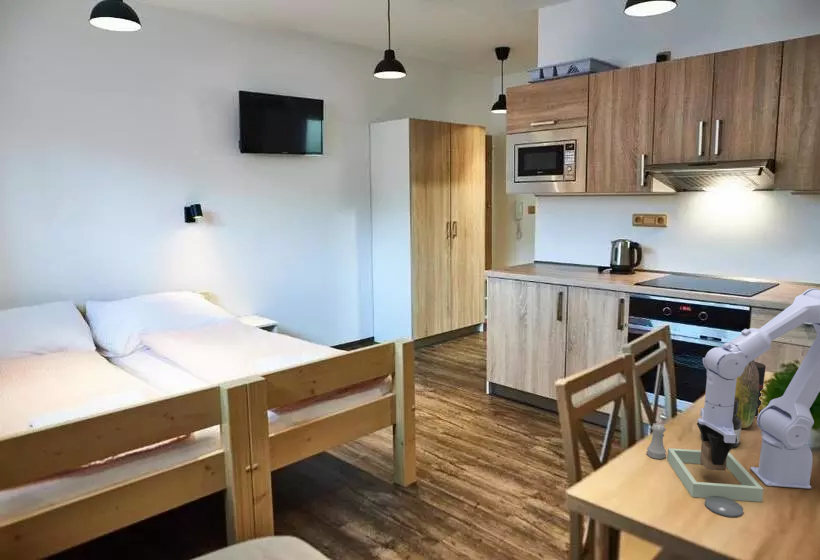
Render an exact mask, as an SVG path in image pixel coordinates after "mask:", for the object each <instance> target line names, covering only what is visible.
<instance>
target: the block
mask: <svg viewBox="0 0 820 560" xmlns="http://www.w3.org/2000/svg"><path fill="white" fill-rule="evenodd" d="M700 450H701V456H700V462H701V463H702V464H701V465H702V466H703V467H704V468H705V470H706V471H707V470H708V471H722V472H726V471H727V467H726V462H727V457H726V460H725V462H724V464H723V465H714V464H713V463H712V458H711V445H710V441H702V440H701V447H700Z"/></svg>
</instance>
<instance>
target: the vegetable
mask: <svg viewBox="0 0 820 560" xmlns="http://www.w3.org/2000/svg"><path fill="white" fill-rule="evenodd" d="M755 362H756V361H755V359H754V360H752V361H751V362H749V363H748V365H747V366H746V367H745V369H744V371H743V373H742V375H741V376H739V377H737V380H736V390H735V397H737V398H738V399H739V406H738V413H737V414H736V415H737V416H738V417H739V418H740V420H741V429H746V428H749V427H751V425H752V424H753V422H754V420H755V418H756V417H755V413H756V407H757V401H758V395H759V372H758V369H757V367H756V365H755Z"/></svg>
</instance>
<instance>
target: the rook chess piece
mask: <svg viewBox="0 0 820 560" xmlns="http://www.w3.org/2000/svg"><path fill="white" fill-rule="evenodd" d="M650 429H651V430H652V432H651V435H652V437H651V441H650V443H649V445H648V446H647V447H646V450H647V451H646V454H647V455H648V457H649V458H652V459H654V460H663V459H665V458H666V457H667V449H665V445H664V437H665V434H664V432H666V428H665V425H664V424H663V423H660V422H654V423H653V424H652V426H651V428H650Z"/></svg>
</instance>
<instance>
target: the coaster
mask: <svg viewBox="0 0 820 560" xmlns="http://www.w3.org/2000/svg"><path fill="white" fill-rule="evenodd" d="M704 506H705V508H706V509H707V510H709V512H711V513H714V514H716V515H718V516H721V517H726V518H739V517H742V515H743V514H744V507H743V506H742V505H741V504H740V503H738V502H737V501H736V500H731V499H728V498H725V497H720V496H710V497H707V498H704Z"/></svg>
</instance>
